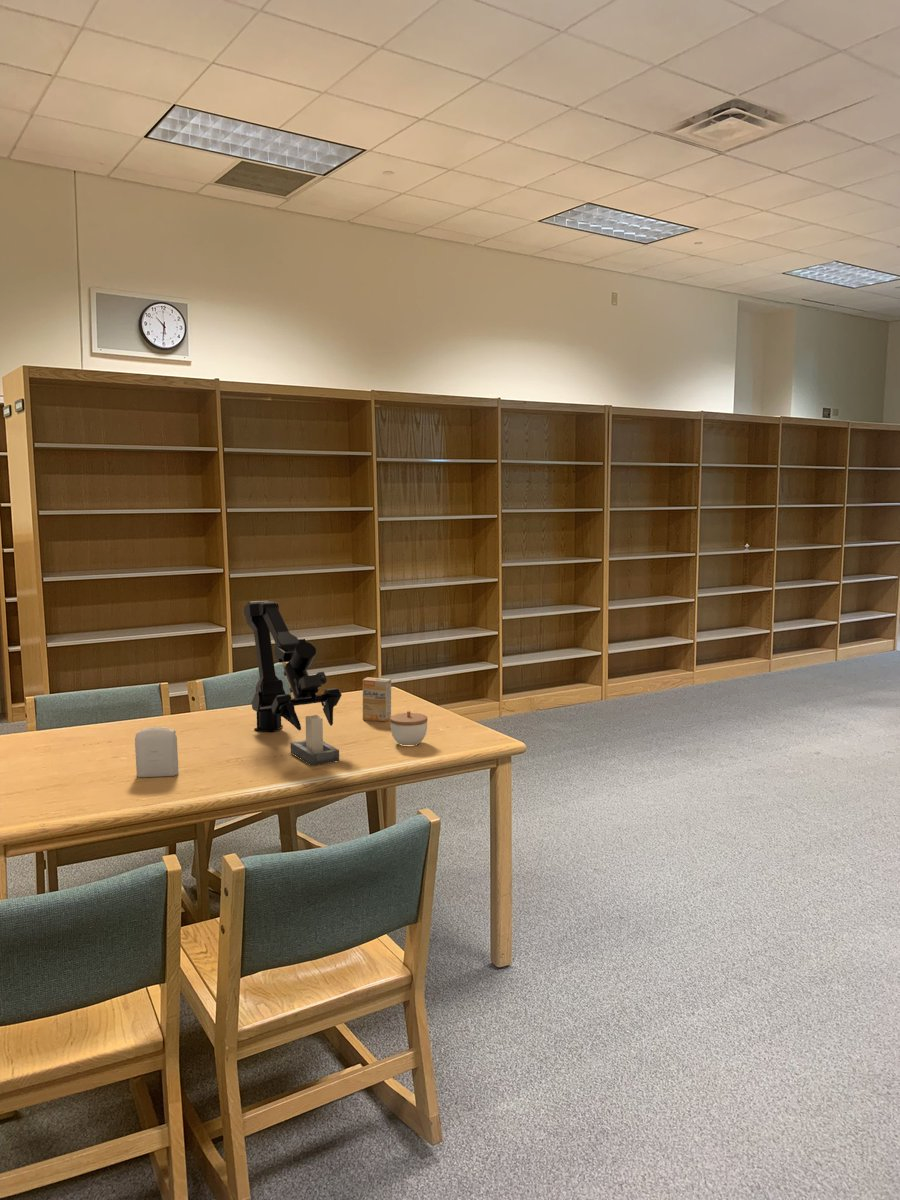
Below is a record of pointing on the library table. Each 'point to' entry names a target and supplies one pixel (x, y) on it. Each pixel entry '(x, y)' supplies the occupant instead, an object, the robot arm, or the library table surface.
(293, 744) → the grey rectangular tray
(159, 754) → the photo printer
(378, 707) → the supplement box
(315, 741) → the pale grey rectangular block
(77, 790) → the library table surface
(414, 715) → the lidded jar
